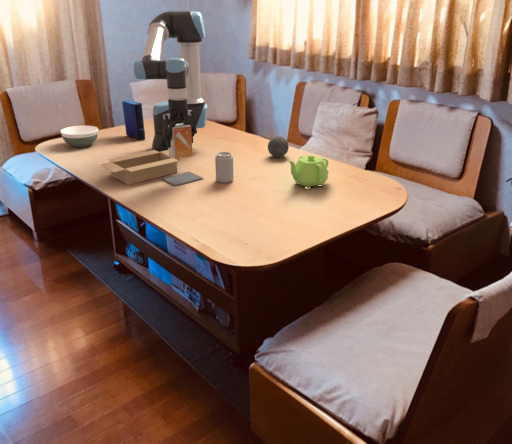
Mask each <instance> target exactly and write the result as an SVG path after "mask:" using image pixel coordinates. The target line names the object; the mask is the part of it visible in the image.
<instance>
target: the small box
mask: <svg viewBox="0 0 512 444" xmlns="http://www.w3.org/2000/svg"><path fill="white" fill-rule="evenodd" d="M168 128H169V125H168ZM171 140H173V152H174V156H171V155H169V156H171V157H173V158H174V159H177V160H179V159H183V158H189V157H193V143H192V135H191V126H190V125H185V124H183V123H182V124H176V125H175V127H173V128H172V138H171Z"/></svg>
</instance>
